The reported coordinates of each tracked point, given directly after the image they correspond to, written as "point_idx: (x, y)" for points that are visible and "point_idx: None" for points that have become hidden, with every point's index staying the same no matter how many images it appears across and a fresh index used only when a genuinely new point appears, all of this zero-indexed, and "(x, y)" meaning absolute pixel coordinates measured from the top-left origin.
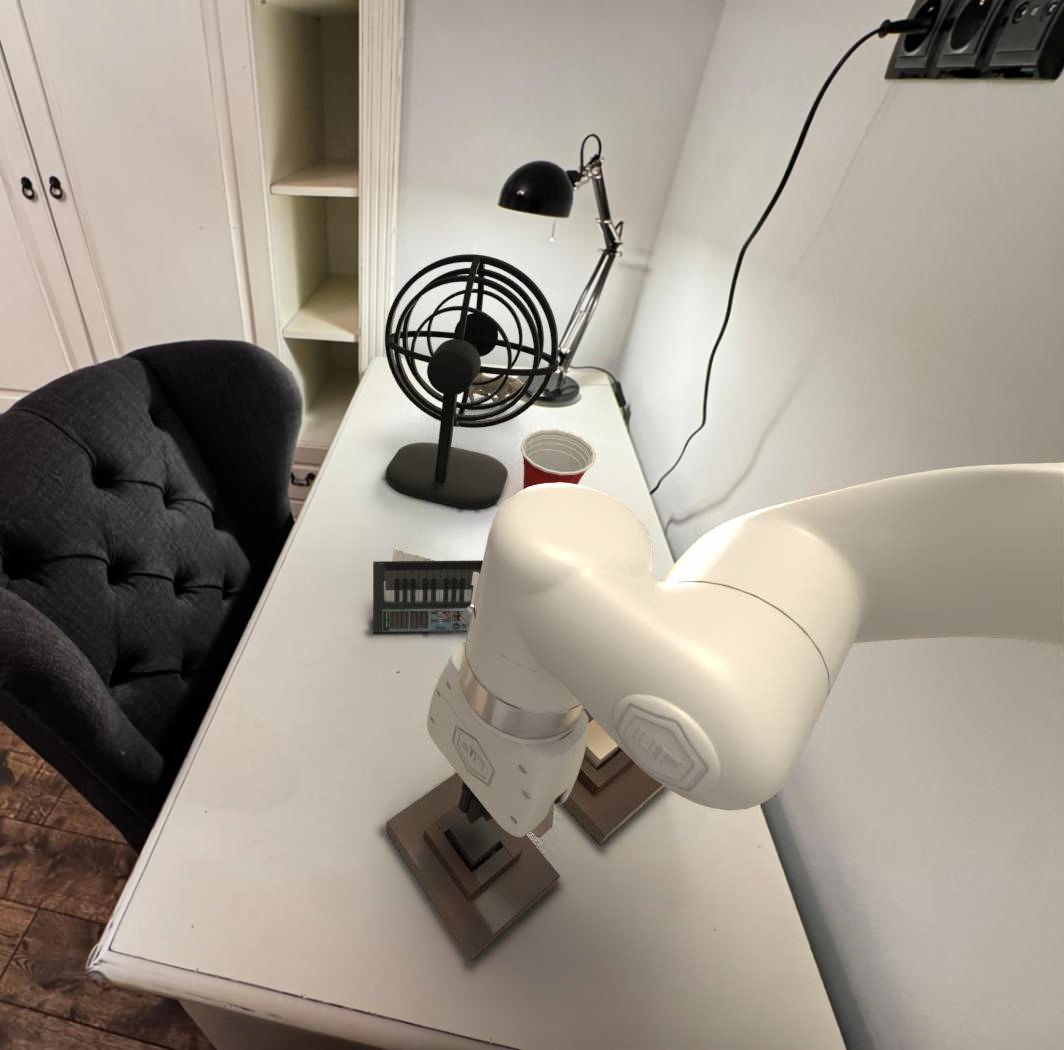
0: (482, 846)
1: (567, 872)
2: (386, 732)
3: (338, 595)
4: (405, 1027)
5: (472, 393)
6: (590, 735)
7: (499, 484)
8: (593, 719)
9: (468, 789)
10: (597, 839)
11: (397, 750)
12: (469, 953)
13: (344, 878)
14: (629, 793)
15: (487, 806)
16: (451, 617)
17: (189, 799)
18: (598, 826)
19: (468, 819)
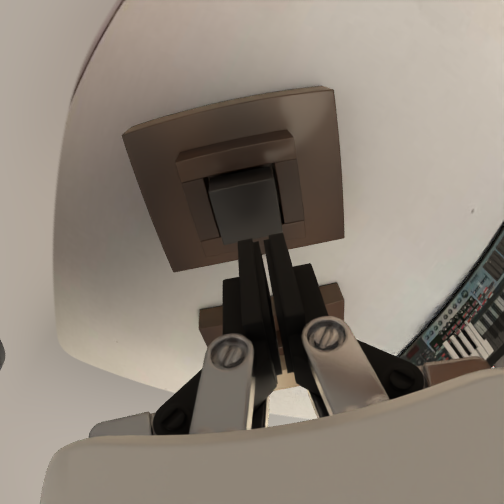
0: (224, 214)
1: (184, 271)
2: (431, 157)
3: None
4: (99, 31)
5: None
6: (290, 376)
7: (498, 365)
8: None
9: (289, 319)
10: (203, 312)
11: (406, 157)
12: (131, 128)
13: (288, 6)
14: None
15: (148, 471)
16: (475, 297)
17: None
18: (209, 327)
19: (247, 243)
